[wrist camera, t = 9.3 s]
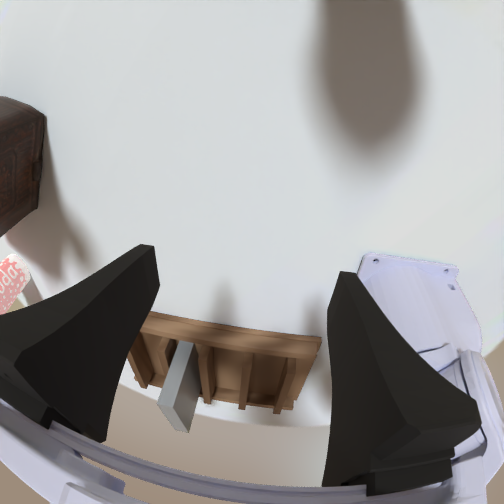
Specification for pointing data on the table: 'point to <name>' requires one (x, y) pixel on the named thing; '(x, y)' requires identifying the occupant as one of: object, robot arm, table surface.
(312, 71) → the table surface
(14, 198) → the coffee grinder
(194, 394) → the grey upright slab
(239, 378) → the dish rack
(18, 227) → the table surface
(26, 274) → the beverage cup
